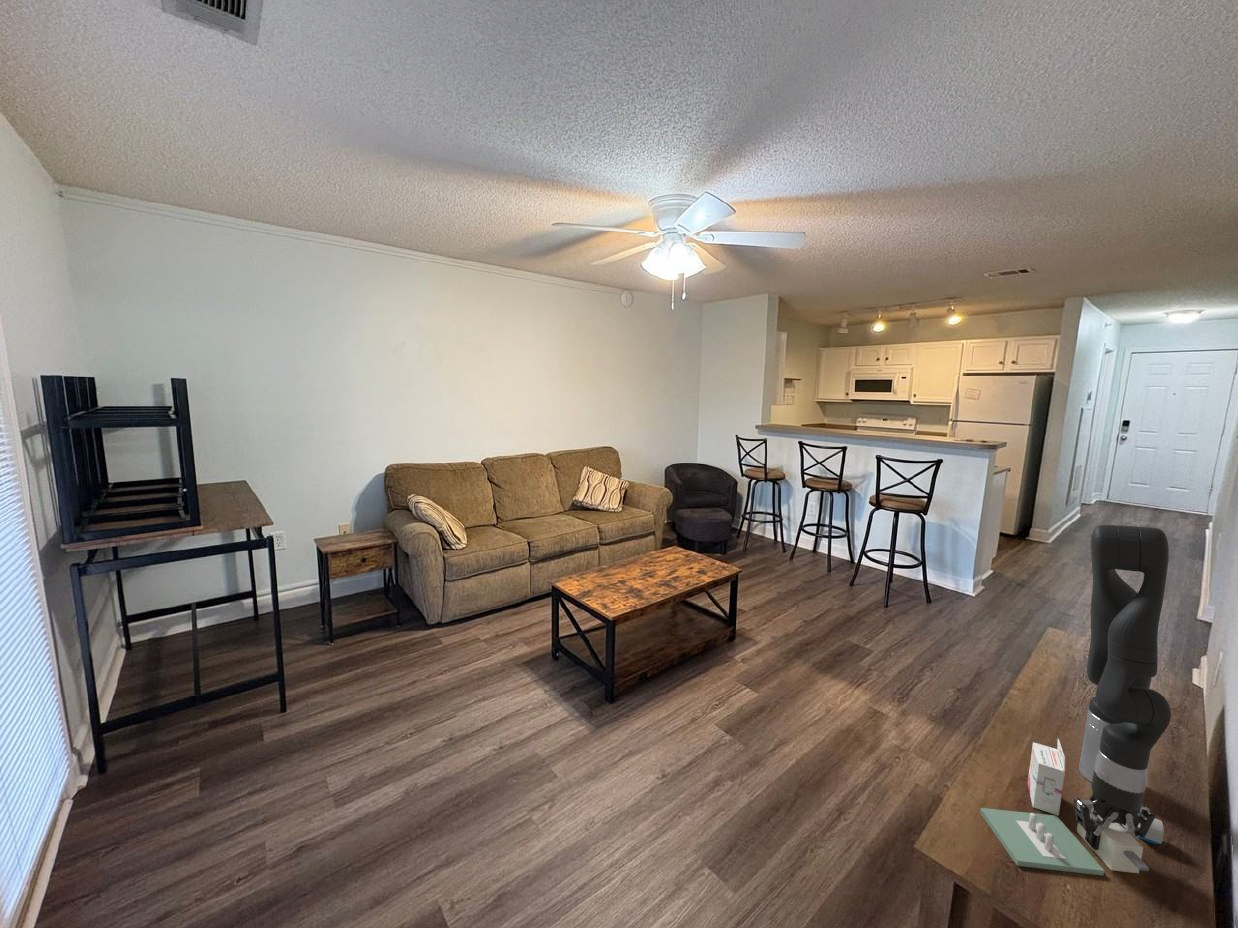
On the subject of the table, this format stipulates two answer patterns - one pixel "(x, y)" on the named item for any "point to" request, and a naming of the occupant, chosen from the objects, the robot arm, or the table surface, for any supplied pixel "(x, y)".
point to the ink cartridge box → (1046, 777)
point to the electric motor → (1154, 832)
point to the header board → (1040, 841)
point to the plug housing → (1118, 849)
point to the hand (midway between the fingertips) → (1106, 847)
